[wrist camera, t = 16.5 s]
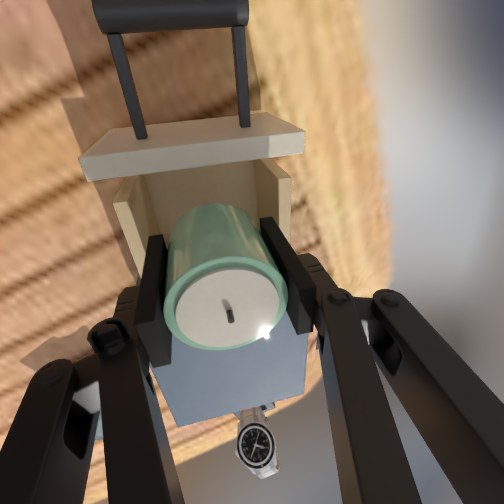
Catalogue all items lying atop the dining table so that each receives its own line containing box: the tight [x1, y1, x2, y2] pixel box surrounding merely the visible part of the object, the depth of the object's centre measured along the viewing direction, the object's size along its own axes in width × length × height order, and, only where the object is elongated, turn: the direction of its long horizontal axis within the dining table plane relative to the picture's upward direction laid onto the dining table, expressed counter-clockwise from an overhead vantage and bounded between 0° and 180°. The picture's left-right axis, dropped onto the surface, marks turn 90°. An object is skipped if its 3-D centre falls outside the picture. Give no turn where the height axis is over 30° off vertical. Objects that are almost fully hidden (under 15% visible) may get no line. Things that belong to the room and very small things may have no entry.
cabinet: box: [136, 275, 308, 427], centre depth 27 cm, size 15×13×10 cm
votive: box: [163, 203, 288, 351], centre depth 14 cm, size 6×6×6 cm
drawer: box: [78, 0, 305, 278], centre depth 19 cm, size 20×11×8 cm, turn 4°
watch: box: [233, 402, 280, 479], centre depth 38 cm, size 6×8×11 cm
